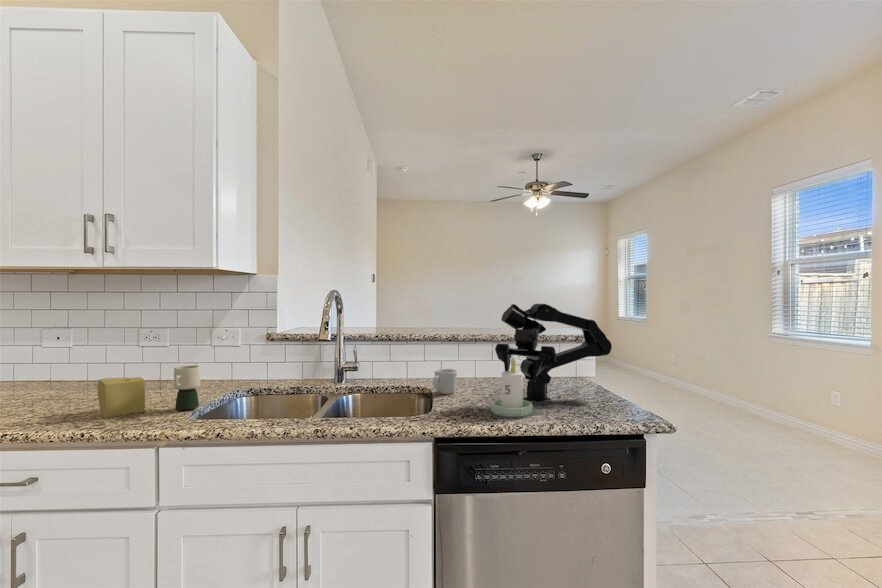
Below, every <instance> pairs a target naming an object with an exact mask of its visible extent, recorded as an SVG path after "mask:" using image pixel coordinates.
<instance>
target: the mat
mask: <svg viewBox="0 0 882 588" xmlns="http://www.w3.org/2000/svg"><path fill="white" fill-rule="evenodd" d="M480 412H483V413H487V414H489V415H493V416H496V417H498V418H502V419H505V420H508V421H511V422H512V421H516V420H521V419H525V418H529V417H533V416H538V415H542V414H544V413H543V412H542V411H541V412H540V411H537V410H534V409H533V411H532V414H531V415H529V416H526V417H503V416H498V415H495V414H493V413H492V412H491V408H486V409H481V410H480Z"/></svg>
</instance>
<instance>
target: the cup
mask: <svg viewBox="0 0 882 588" xmlns="http://www.w3.org/2000/svg"><path fill="white" fill-rule="evenodd" d="M457 374H458V371H457V370H456V369H452V368H439V369H435V370H434V377H433V380H432V385H433V388H434V389H435V390H436V392H437V393H438V394H440V393H442V394H441V395H451V394H454V393H455V390H456V384H457V376H458V375H457Z"/></svg>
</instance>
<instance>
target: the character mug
mask: <svg viewBox="0 0 882 588" xmlns="http://www.w3.org/2000/svg"><path fill="white" fill-rule="evenodd" d="M173 378H174V379H173V380H174V382H173V387H174V389H176V390H178V391H177V394H176V399H175V407H174V409H175V410H176V411H177V410H183V411H184V410H185V411H186V410H190V409H197V408H199V406H200V404H199V395H198V391H197V388H199V387H201V366H200V365H194V364H193V365H180V366H179V365H178V366H176V367H174V368H173Z"/></svg>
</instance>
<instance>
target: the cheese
mask: <svg viewBox="0 0 882 588" xmlns="http://www.w3.org/2000/svg"><path fill="white" fill-rule="evenodd" d="M97 399H98V404H99V412H100V414H101V416H103V417H104V419H108V417H110V418H115V416H116V417H121V416H120V415H122V416H127V415H126V414H129V415H132V414H131V413H135V414H139V413H138V412H141V413H145V412H144V411H146V410H145V409H146V380H145V379H144V378H143V377H141V376H139V377H138V376H137V377H108V378H100V379H98V382H97Z"/></svg>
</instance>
